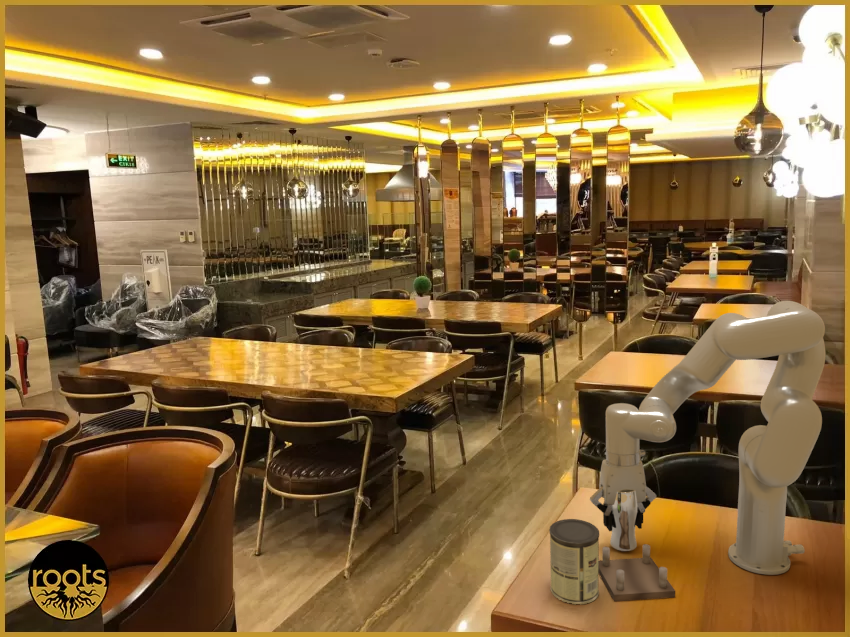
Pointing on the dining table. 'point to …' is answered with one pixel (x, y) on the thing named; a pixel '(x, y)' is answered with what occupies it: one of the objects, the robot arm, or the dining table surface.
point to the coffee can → (574, 561)
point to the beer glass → (624, 521)
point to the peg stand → (634, 577)
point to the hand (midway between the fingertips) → (623, 526)
